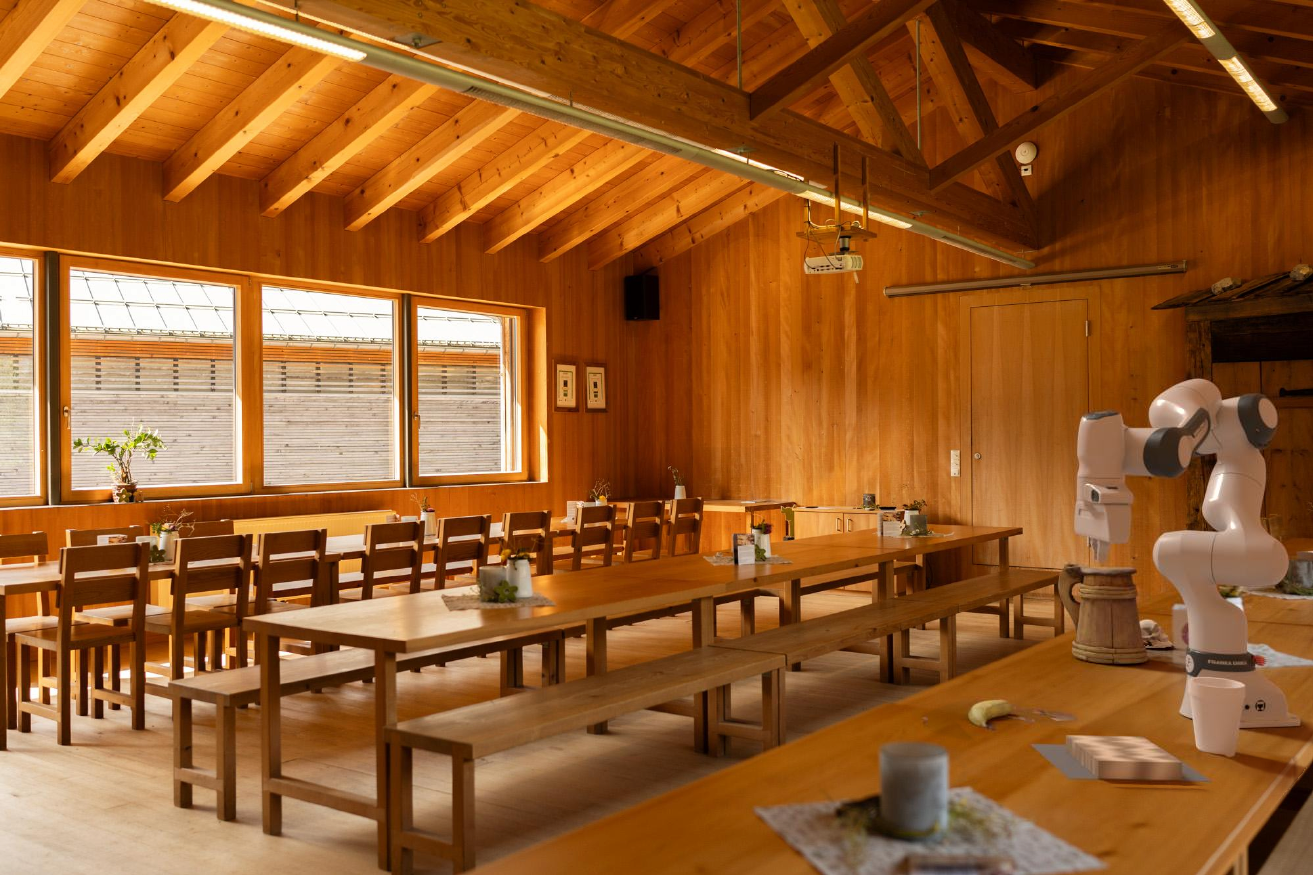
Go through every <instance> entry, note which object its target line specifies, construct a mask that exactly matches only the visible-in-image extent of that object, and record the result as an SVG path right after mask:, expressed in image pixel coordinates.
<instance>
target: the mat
mask: <svg viewBox="0 0 1313 875" xmlns="http://www.w3.org/2000/svg"><path fill="white" fill-rule="evenodd" d="M1029 745H1030V746H1032V748H1034V749H1035V750H1036V751H1037V752H1038V753H1039V754H1040V755H1042V756H1043V757H1044V758H1045V759H1046V760H1047V761H1048V762H1049V763H1051V764H1052V765H1053V766H1054V768H1056V769H1057V770H1058V771H1059V772H1060V773H1061V774H1063V775H1064V776H1065V777H1067V779H1068V780H1069V779H1071V780H1105V781H1106V780H1108V781H1109V780H1110V781H1113V780H1115V781H1153V782H1154V781H1156V782H1194V783H1195V782H1197V783H1200V782H1203V783H1204V782H1205V783H1213V780H1211V779H1209V778H1208V777H1207V776H1205V775H1203V774H1201V773H1200V772H1199V771H1197V770H1195V769H1194V768H1193V767H1191V766H1189V765H1188V764H1186V763H1184V762H1183V761H1182V760H1180V759H1179V758H1178V757H1176V756H1174V755H1172V753H1169V752H1168V751H1166V750H1165V749H1163V748H1162V747H1161V746H1158V747H1159V748H1161V749H1162V750H1164V751H1165V752H1167V753H1168V754H1170V755H1171V756H1173V757H1175V758H1176V759H1178V760H1179V761H1181V762H1182V780H1150V779H1103V778H1097V777H1096V776H1095V775H1093V774H1092V773H1091V772H1090V771H1089V770H1087V769H1086V768H1085V767H1084V766H1083V765H1081V764H1080V763H1079V762H1078V761H1076V760H1075V759H1074V758H1073V757H1072V756H1070V755H1069V754H1068V753H1067V752H1066V744H1049V743H1048V744H1046V743H1045V744H1044V743H1043V744H1041V743H1039V744H1038V743H1030V744H1029Z"/></svg>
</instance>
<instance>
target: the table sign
mask: <svg viewBox="0 0 1313 875" xmlns="http://www.w3.org/2000/svg"><path fill="white" fill-rule="evenodd" d="M1065 745H1066V752H1067V753H1068V754H1069V755H1070V756H1072V757H1073V758H1074V759H1075V760H1076V761H1078V762H1079V763H1080V764H1081V765H1083V766H1084V767H1085V768H1086V769H1087V770H1089V771H1090V772H1091V773H1092V774H1093V775H1095V776H1096V777H1097V778H1103V779H1150V780H1182V762H1183V761H1182V760H1180V759H1179V758H1177V757H1176V756H1174V755H1173V756H1174V757H1173V756H1171V755H1172V754H1171V753H1170V754H1171V755H1170V754H1168V753H1169V752H1168V751H1166V750H1165V749H1163V748H1162V747H1160V746H1158V745H1156V744H1155V743H1153V742H1152V741H1150V740H1149V739H1147V738H1146V737H1143V736H1121V735H1120V736H1119V735H1118V736H1115V735H1114V736H1113V735H1111V736H1110V735H1073V734H1072V735H1070V734H1069V735H1068V734H1067V735H1065ZM1159 747H1160V748H1159ZM1161 748H1162V749H1163V750H1162V749H1161ZM1164 750H1165V751H1166V752H1165V751H1164ZM1167 752H1168V753H1167ZM1175 757H1176V758H1177V759H1176V758H1175ZM1178 759H1179V760H1180V761H1179V760H1178ZM1181 761H1182V762H1181ZM1103 779H1102V780H1103Z"/></svg>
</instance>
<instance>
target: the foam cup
mask: <svg viewBox="0 0 1313 875" xmlns="http://www.w3.org/2000/svg"><path fill="white" fill-rule="evenodd" d="M1188 693H1189V694H1190V702H1191V709H1192V717H1193V719H1192V724H1193V730H1194V731H1193V732H1194V741H1195V746H1196V748H1197V749H1198V750H1199V751H1202V752H1205V753H1209V754H1212V755H1213V754H1214V755H1224V756H1225V757H1228V758H1230V757H1235V755H1236V750H1237V746H1238V745H1237V744H1238V738H1239V731H1240V728H1239V726H1240V720H1241V713H1242V707H1243V701H1244V699H1245V685H1244V684H1243V683H1241V682H1237V681H1234V680H1228V679H1222V678H1212V677H1195V678H1190V679H1189V680H1188Z"/></svg>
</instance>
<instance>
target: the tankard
mask: <svg viewBox="0 0 1313 875" xmlns="http://www.w3.org/2000/svg"><path fill="white" fill-rule="evenodd" d="M1137 573H1138V570H1137V569H1136V568H1134V567H1130V566H1129V567H1128V566H1127V567H1121V566H1119V567H1118V566H1116V567H1113V566H1112V567H1111V566H1088V565H1082V564H1079V563H1073V562H1071V561H1066V562H1065V563H1064V566H1063V568H1062V570H1061V571H1060V574H1059V576H1058V585H1057V588H1058V594H1059V597H1060V600H1061V602H1062V604H1063V606H1064V609H1065V610H1066V611H1067V613H1068V615H1069V616H1070V618H1071V620H1072V623H1073V625H1074V628H1075V637H1076V638H1075V639H1074V640H1073V641H1072V647H1071V648H1072V649H1071V653H1072V655H1073V656H1074V658H1076V659H1077V660H1080V661H1084V662H1090V663H1100V664H1108V665H1109V664H1110V665H1111V664H1115V665H1117V664H1118V665H1129V664H1130V665H1131V664H1132V665H1133V664H1139V663H1144V662H1147V661H1148V660H1149V657H1148V651H1147V649H1146V647H1145V646H1144V644H1143V639H1142V633H1141V628H1140V615H1139V608H1138V605H1137V597H1138V595H1139V592H1138V589H1137V585H1136V584H1135V583H1134V580H1133V579H1134V578H1133V575H1135V574H1137ZM1077 584H1079V588H1078V590H1077V593H1078V595H1079V596H1080V597H1081V600H1080V602H1079V601H1078V600H1076V598H1075V597H1074V595H1073V588H1074V587H1075V586H1076V585H1077Z"/></svg>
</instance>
